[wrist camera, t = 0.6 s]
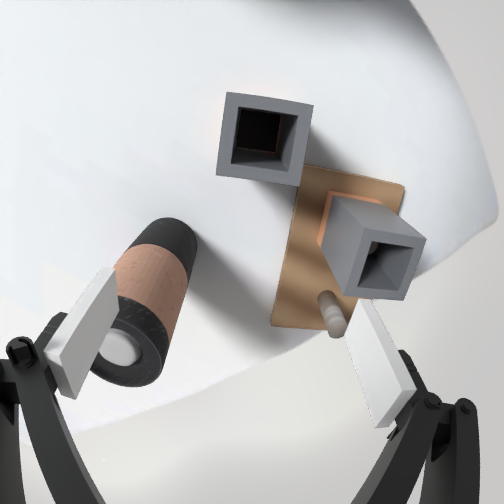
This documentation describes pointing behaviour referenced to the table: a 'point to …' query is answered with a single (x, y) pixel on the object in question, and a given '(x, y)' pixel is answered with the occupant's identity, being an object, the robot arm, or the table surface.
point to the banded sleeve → (257, 161)
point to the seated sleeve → (358, 243)
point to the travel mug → (147, 303)
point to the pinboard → (311, 257)
